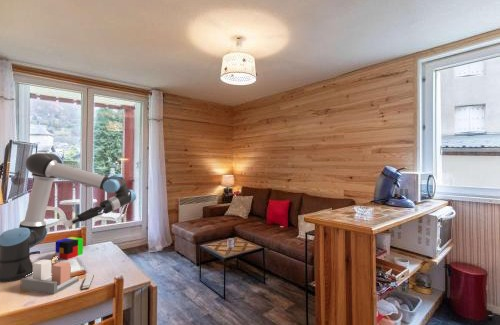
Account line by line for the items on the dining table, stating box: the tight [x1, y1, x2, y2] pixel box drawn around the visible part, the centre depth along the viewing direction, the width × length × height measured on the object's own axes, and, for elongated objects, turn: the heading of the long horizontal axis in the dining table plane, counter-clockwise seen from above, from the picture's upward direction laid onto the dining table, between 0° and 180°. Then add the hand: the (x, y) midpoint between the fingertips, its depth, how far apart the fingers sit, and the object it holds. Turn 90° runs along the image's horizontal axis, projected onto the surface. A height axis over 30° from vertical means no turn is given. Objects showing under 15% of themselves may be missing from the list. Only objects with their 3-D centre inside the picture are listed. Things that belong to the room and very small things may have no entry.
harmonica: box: [80, 274, 94, 291], centre depth 125 cm, size 15×3×2 cm, turn 24°
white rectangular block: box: [31, 258, 53, 280], centre depth 123 cm, size 6×5×9 cm
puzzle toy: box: [54, 236, 84, 260], centre depth 159 cm, size 10×10×10 cm
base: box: [20, 274, 80, 295], centre depth 122 cm, size 13×18×5 cm
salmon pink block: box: [51, 260, 72, 285], centre depth 121 cm, size 6×5×9 cm
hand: (64, 225), depth 131 cm, fingers closed
